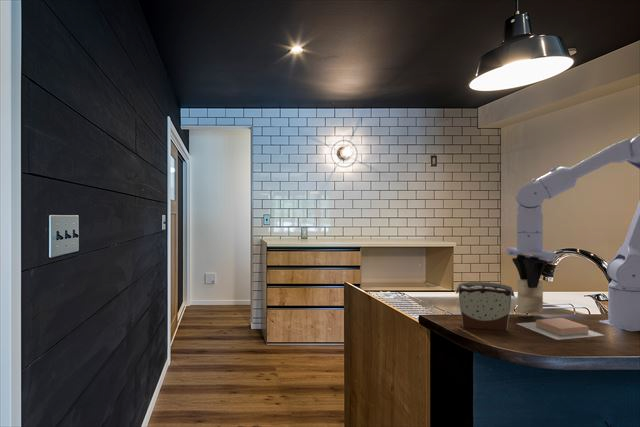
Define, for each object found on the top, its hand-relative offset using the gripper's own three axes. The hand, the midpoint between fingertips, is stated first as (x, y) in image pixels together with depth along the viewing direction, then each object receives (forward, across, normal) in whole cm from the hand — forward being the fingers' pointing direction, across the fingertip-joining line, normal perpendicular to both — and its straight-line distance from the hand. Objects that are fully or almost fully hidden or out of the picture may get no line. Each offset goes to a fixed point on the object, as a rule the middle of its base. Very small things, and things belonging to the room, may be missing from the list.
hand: (529, 286), depth 101 cm
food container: (+8, +4, -16) cm, 18 cm away
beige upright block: (+6, 0, 0) cm, 6 cm away
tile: (+6, +8, -2) cm, 11 cm away
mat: (+8, +11, -2) cm, 14 cm away
